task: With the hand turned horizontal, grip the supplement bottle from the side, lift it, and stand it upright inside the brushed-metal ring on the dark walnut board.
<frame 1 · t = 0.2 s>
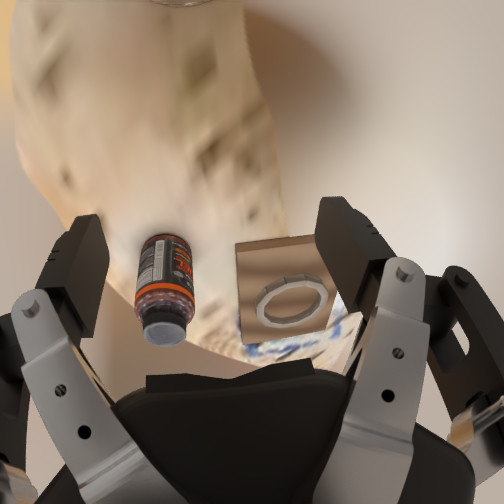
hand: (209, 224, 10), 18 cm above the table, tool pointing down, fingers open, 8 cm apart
supplement bottle: (166, 251, 34), on the table
walnut board: (287, 291, 42), on the table
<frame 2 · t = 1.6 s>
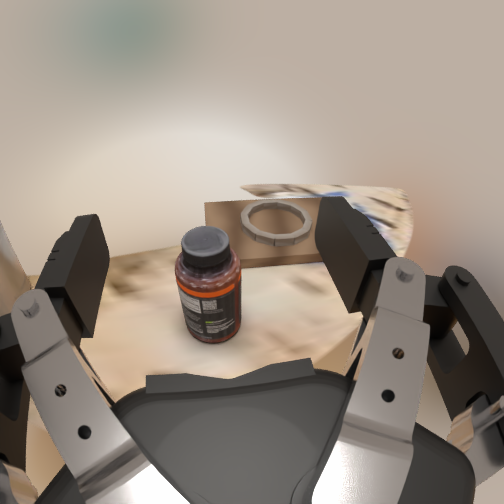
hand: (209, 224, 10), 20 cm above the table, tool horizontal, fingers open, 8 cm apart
supplement bottle: (213, 323, 32), on the table
walnut board: (275, 232, 44), on the table
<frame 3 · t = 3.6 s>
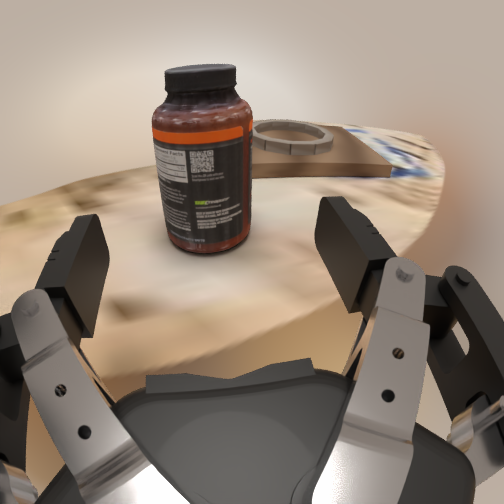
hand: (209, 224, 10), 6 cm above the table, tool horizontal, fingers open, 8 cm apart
supplement bottle: (208, 232, 21), on the table
walnut board: (288, 151, 34), on the table
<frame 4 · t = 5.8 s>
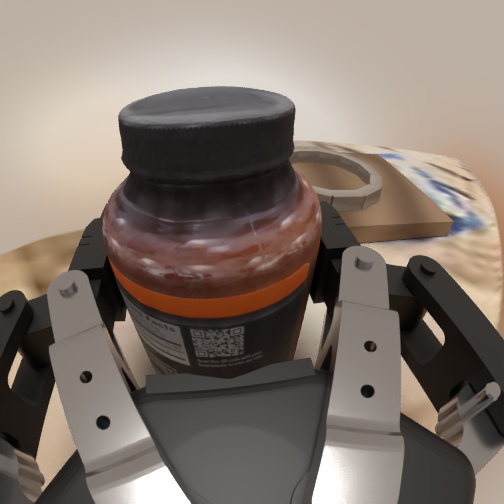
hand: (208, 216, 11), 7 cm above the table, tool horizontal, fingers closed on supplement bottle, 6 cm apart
supplement bottle: (223, 368, 13), on the table, touching gripper
walnut board: (320, 195, 26), on the table
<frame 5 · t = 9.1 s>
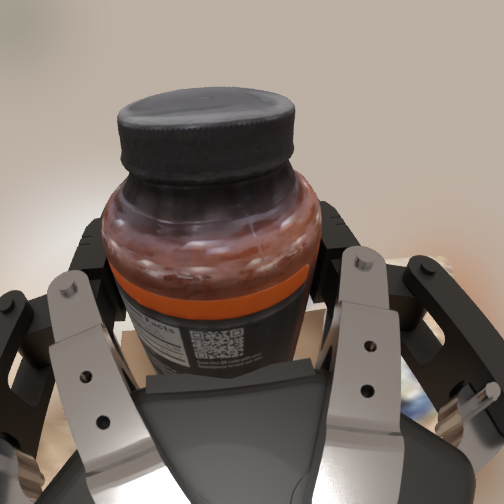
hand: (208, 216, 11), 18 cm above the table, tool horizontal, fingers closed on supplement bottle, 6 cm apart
supplement bottle: (223, 369, 13), point 11 cm above the table, touching gripper
walnut board: (241, 398, 23), on the table
when the fingers open (9 cm above the table, at t = 12.0 s): supplement bottle drops 1 cm, resting on walnut board.
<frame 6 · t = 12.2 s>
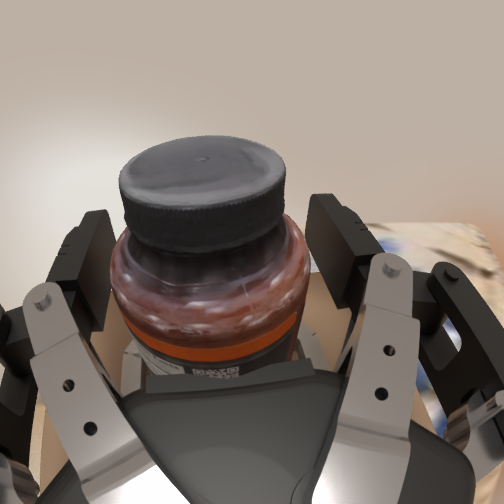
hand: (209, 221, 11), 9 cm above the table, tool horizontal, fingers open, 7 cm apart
supplement bottle: (222, 384, 14), point 1 cm above the table, touching walnut board
walnut board: (225, 391, 15), on the table
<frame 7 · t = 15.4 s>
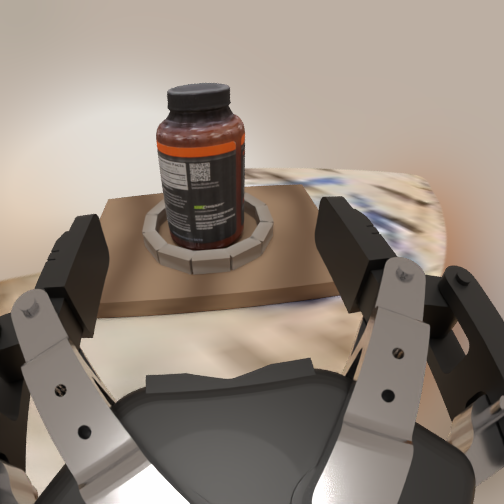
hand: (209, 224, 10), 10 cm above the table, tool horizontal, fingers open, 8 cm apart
supplement bottle: (206, 233, 24), point 1 cm above the table, touching walnut board
walnut board: (208, 244, 25), on the table
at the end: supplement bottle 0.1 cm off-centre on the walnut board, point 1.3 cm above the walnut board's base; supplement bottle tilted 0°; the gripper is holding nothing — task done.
